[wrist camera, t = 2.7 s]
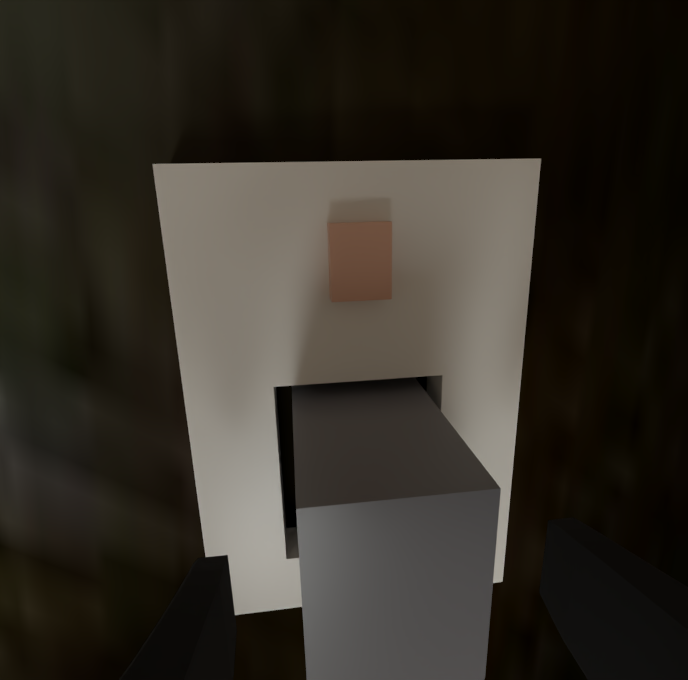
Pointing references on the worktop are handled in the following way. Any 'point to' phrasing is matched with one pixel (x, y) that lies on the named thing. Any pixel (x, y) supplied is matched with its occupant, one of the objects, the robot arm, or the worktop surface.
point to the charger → (390, 535)
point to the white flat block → (338, 320)
